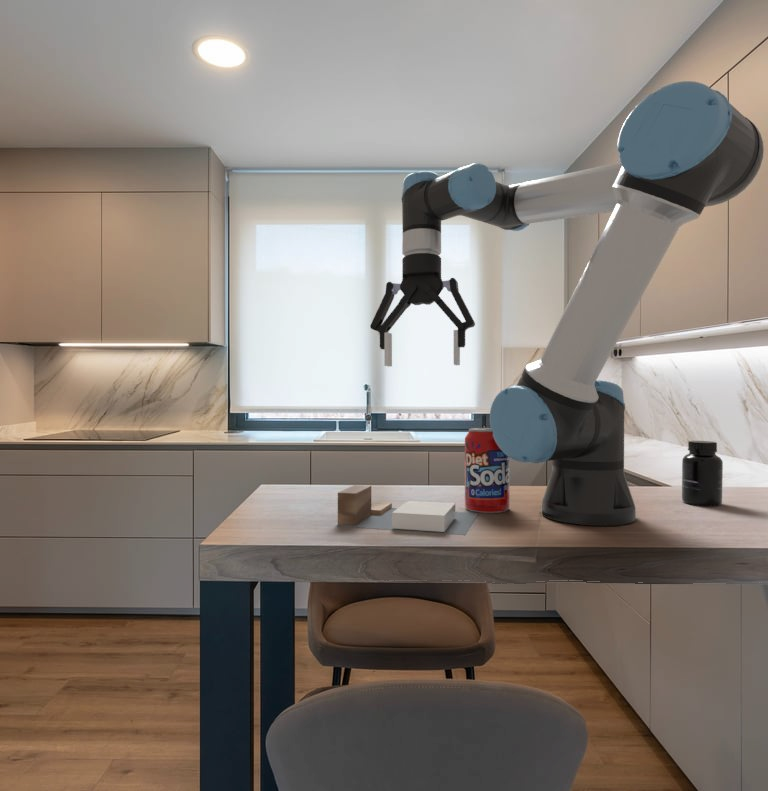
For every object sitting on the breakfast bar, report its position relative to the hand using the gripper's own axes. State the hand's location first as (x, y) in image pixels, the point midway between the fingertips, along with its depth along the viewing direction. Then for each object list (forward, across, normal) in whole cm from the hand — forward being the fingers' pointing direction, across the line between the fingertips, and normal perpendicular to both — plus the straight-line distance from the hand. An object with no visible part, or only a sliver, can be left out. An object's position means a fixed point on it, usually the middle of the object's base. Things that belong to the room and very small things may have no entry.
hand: (421, 365), depth 109 cm
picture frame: (+25, -5, +15) cm, 29 cm away
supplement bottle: (+27, -52, -15) cm, 60 cm away
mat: (+27, -2, +17) cm, 32 cm away
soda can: (+27, -13, +5) cm, 30 cm away
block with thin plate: (+26, +7, +16) cm, 31 cm away
